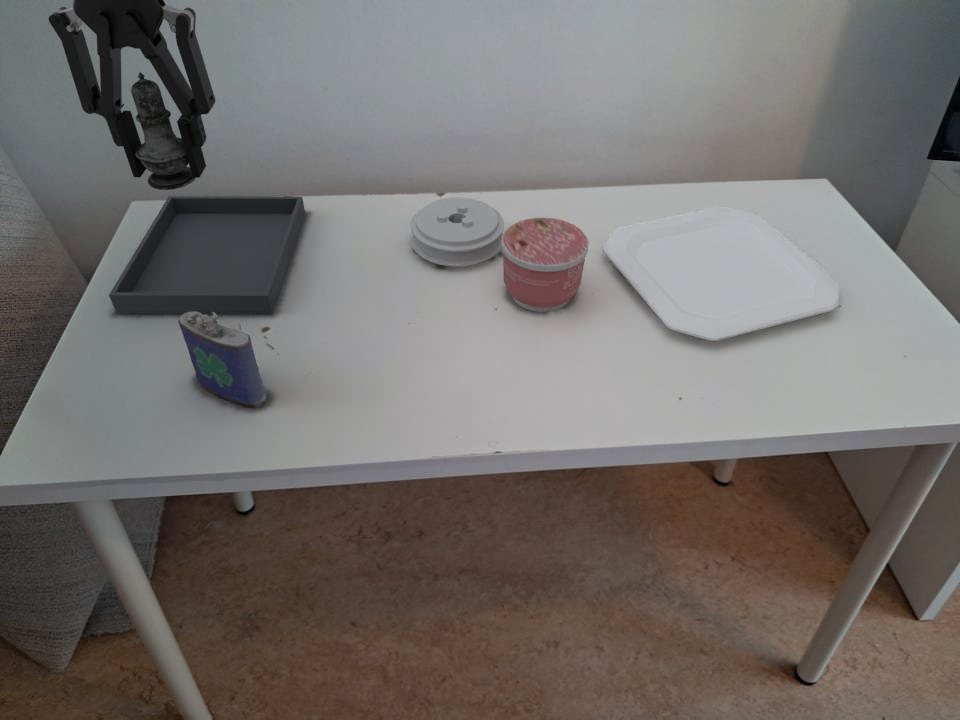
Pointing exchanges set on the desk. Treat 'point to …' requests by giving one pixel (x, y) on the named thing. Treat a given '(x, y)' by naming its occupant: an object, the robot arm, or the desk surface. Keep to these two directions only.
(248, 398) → the flask
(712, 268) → the plate
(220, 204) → the tray
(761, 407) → the desk surface
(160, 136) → the chess piece
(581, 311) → the desk surface
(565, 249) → the container
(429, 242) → the grey pulley wheel
